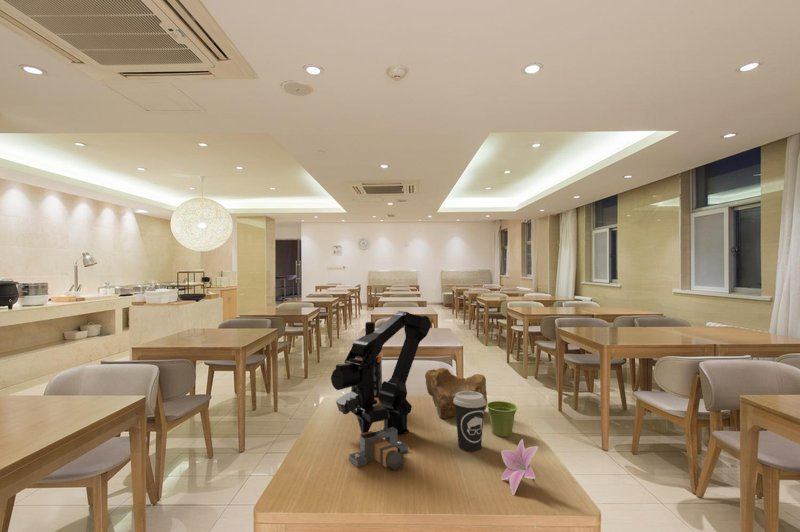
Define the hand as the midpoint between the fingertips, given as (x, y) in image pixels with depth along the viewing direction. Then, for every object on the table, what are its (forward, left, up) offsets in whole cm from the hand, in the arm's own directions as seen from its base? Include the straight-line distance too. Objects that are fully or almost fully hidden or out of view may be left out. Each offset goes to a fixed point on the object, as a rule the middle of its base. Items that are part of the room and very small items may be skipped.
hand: (364, 435), depth 112 cm
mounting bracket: (-1, +8, -3) cm, 9 cm away
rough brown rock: (-38, -8, -3) cm, 39 cm away
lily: (-25, +37, -3) cm, 45 cm away
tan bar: (-1, +9, -3) cm, 10 cm away
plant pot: (-42, +13, -3) cm, 44 cm away
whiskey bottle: (-15, -31, -3) cm, 35 cm away
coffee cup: (-27, +16, -3) cm, 31 cm away
